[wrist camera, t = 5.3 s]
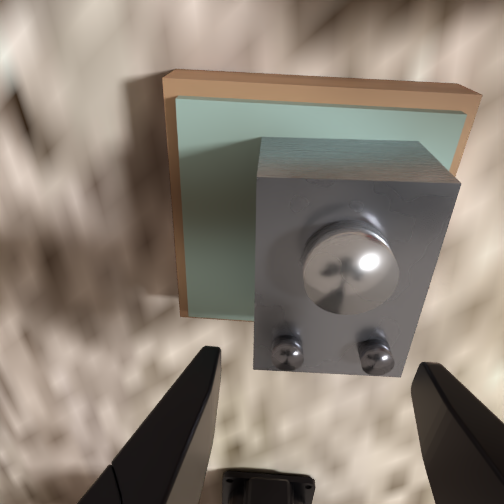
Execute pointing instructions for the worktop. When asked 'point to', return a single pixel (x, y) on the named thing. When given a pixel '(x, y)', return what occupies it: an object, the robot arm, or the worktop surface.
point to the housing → (345, 251)
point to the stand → (248, 150)
